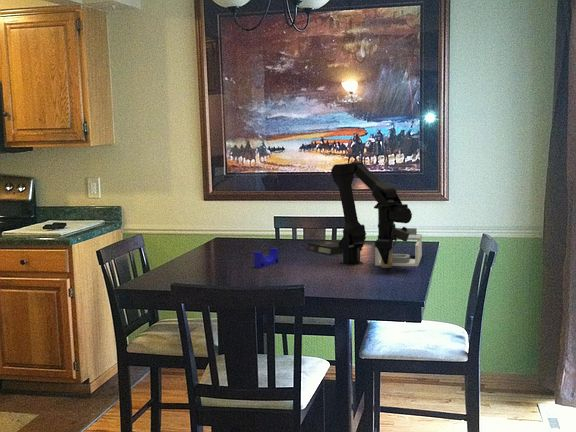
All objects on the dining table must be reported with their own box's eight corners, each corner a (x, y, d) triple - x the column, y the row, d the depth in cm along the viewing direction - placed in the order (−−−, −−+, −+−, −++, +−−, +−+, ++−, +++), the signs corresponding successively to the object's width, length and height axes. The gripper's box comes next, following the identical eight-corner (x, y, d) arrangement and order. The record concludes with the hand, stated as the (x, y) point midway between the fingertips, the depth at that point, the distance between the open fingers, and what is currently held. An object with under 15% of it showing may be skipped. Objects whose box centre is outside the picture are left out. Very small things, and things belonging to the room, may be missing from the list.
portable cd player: (307, 252, 309) (307, 243, 308) (338, 248, 318) (338, 239, 318) (330, 257, 295) (329, 247, 295) (361, 252, 304) (361, 243, 304)
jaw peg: (387, 268, 259) (387, 250, 258) (378, 266, 262) (378, 249, 261) (394, 266, 262) (394, 249, 261) (385, 265, 265) (385, 248, 264)
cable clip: (269, 262, 285) (269, 247, 284) (278, 263, 282) (278, 248, 281) (251, 267, 275) (250, 251, 274) (260, 268, 272) (260, 252, 272)
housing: (417, 266, 266) (417, 245, 265) (375, 265, 270) (375, 245, 269) (421, 255, 289) (421, 236, 288) (382, 255, 293) (382, 236, 292)
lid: (419, 239, 277) (419, 231, 277) (379, 239, 281) (378, 231, 281) (421, 236, 288) (421, 228, 287) (382, 235, 292) (382, 228, 291)
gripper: (406, 224, 249) (406, 268, 251) (410, 218, 267) (410, 259, 269) (374, 224, 252) (375, 267, 254) (380, 218, 270) (381, 258, 272)
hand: (386, 263), depth 262 cm, fingers closed on jaw peg, 4 cm apart
